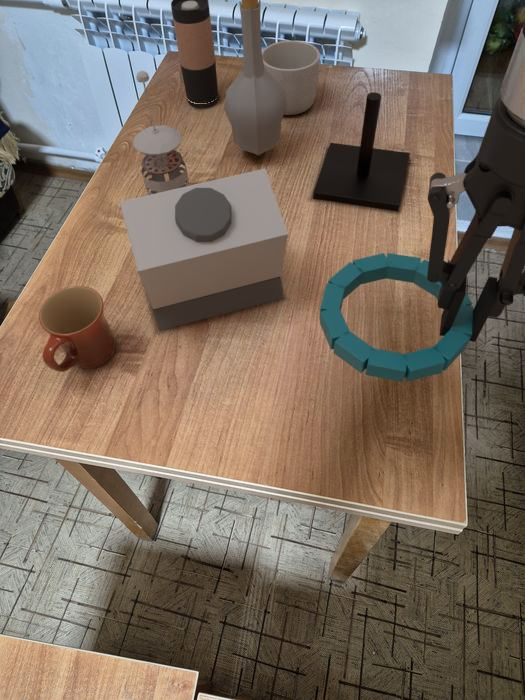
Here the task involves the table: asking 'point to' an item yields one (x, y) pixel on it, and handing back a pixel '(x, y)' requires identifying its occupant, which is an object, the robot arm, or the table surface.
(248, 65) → the bottle
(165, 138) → the french press
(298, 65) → the planter
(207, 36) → the travel mug
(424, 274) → the ring
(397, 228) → the table surface
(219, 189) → the alarm clock
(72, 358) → the mug
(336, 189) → the post
